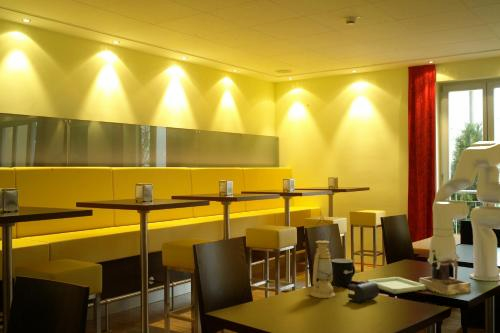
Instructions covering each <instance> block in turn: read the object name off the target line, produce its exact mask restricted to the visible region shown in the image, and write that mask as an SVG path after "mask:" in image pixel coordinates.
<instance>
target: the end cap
mask: <svg viewBox="0 0 500 333" xmlns="http://www.w3.org/2000/svg"><path fill="white" fill-rule="evenodd" d="M347 290H348V291H351V292H354V294H352V293H350V292H349V293H347V298H348V302H349V303H352V304H356V303H357V304H356V305H359V304H362V303H366V302H369V301H372V300H374V299H376V298H377V297H378V296H379V294H380V289H379V287H378V285H377V284H376V283H375V282H373V281H371V282H366V281H358V282H357V284H356V283H351V284H350V285H348V286H347Z"/></svg>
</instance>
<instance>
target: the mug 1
mask: <svg viewBox="0 0 500 333" xmlns="http://www.w3.org/2000/svg"><path fill="white" fill-rule="evenodd" d="M331 264H332V269H333V273H332V274H333V279H332V282H333V284H334V285H335V287H336V286H337V287H348V285H350V284H352V280H353V277H354V275H355V273H356V268H355V265H354V261H353V260H352V259H348V258H334V259H331Z"/></svg>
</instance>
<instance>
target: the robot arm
mask: <svg viewBox="0 0 500 333" xmlns="http://www.w3.org/2000/svg"><path fill="white" fill-rule="evenodd" d="M499 164H500V140H494V141H493V140H492V141H490V140H489V141H477V142H473V143H471V144H470V146H469V147H467V148H465V149H463V150H462V151H461V153H460V156H459V158H458V162H457V165H456V167H455V170H454V174H453V176H452V178H450V179H449V180H447V181H445V183H443V184H442V186H441V187H440V188H438V191H437V192H436V194H435V197H434V200H433V204H432V227H433V228H432V229H433V231H432V232H433V233H432V234H433V235H432V236H431V239H430V242H429V243H430V244H429V257H428V258H427V260H426V261H427V263H429V265H430V266H431V267H432V268H434V278H436V279H441V270H440V269H439V268H440V264H441V262H447V261H449V262H450V261H451V260H455V261H457V262H458V261H459V260H460V257H459V254H457V245H456V238H455V236H454V233H455V229H454V220H459V221H460V220H464V219H466V218H467V217H468V216H469V214H470V216H469V218H470V224H471V228H472V242H473V243H472V246H473V249H472V250H473V251H472V253H473V256H472V257H473V259H472V261H473V273H470V274H469V277H470V279H473V280H477V281H483V282H484V281H486V282H497V281H500V268H499V267H498V238H497V236H496V233H495V232H494V230H493V229H495V230H500V206H491V204H493V205H494V204H496V205H500V181H499V180H500V170H499V168H498V165H499ZM476 178H477V182H476ZM475 182H476V193H475V194H476V196H475V197H476V199H477V201H478V202H480V203H483V204H490V206H488V205H479V206H475V207H474V208H472V209H471V211H470V206H469V205H468V204H467V202H464V201H461V200H449V198H450V197H452V196H453V195H454V194H456V193H457V192H460V191H464V190H465V189H467V188H470V187H473V185H474V184H475ZM436 260H437V261H436ZM433 261H434V262H433ZM436 262H437V265H436ZM432 268H431V269H432ZM449 278H453V279H455V264H454V263H451V264H450V265H449Z"/></svg>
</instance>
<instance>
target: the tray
mask: <svg viewBox="0 0 500 333" xmlns="http://www.w3.org/2000/svg"><path fill="white" fill-rule="evenodd" d="M371 281H373V282H375V283H376V284H377V285H378V287H379V290H382V291H384V292H388V293H390V294H393V295H397V294H403V293H405V294H406V293H412V292H413V291H414V292H419V291H418V290H422V291H427V290H428V289H427V285H424V284H421V283H419V282H418V281H415V280H414V281H413V280H411V279H407V278H403V277H400V276H391V277H383V278H382V277H381V278H375V279H366V281H365V282H371Z"/></svg>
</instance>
